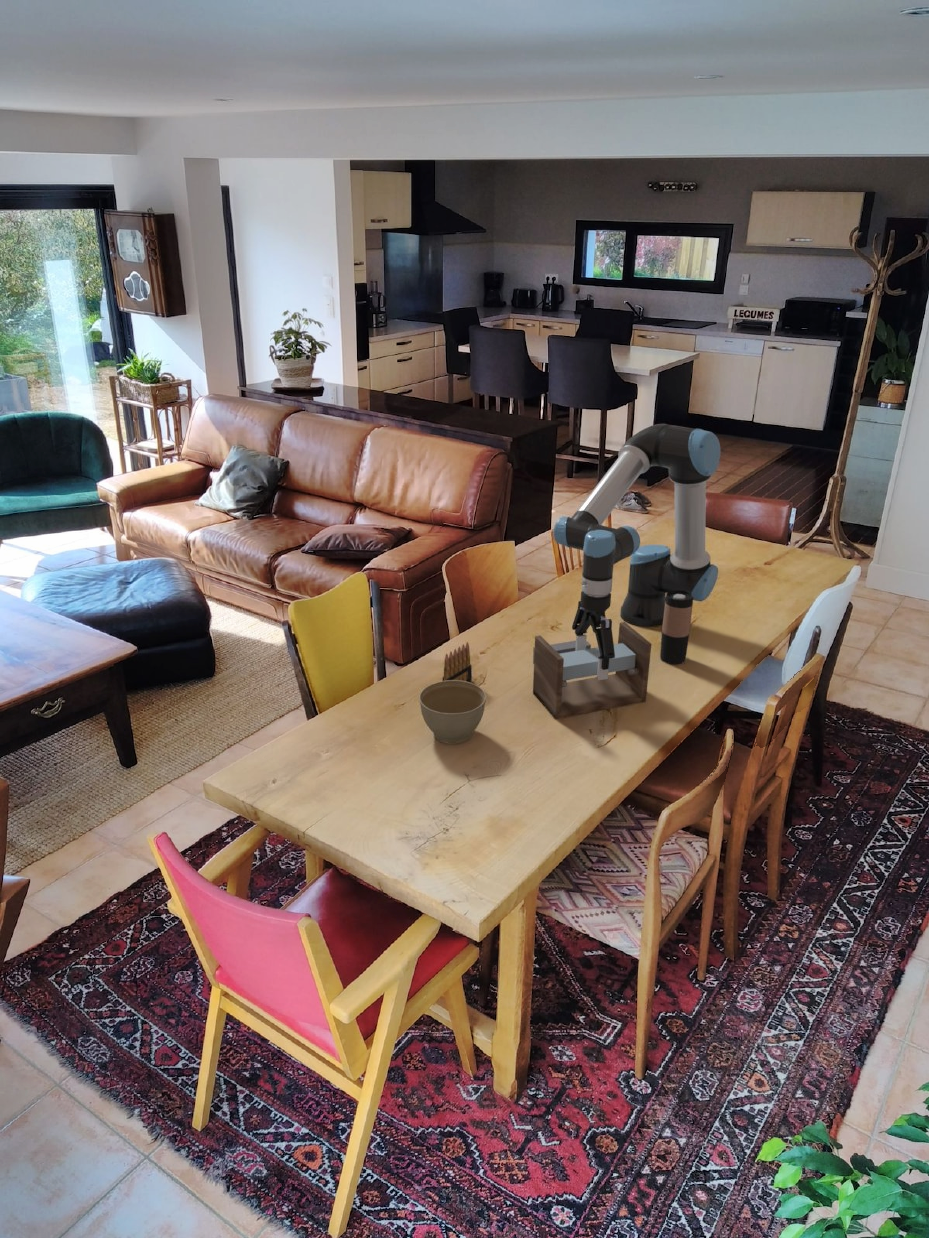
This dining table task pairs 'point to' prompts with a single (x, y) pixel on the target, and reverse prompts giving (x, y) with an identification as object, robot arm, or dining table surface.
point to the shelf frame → (590, 680)
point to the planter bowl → (452, 709)
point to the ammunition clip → (458, 665)
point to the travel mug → (676, 626)
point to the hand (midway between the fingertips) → (590, 668)
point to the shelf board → (595, 662)
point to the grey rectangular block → (565, 647)
